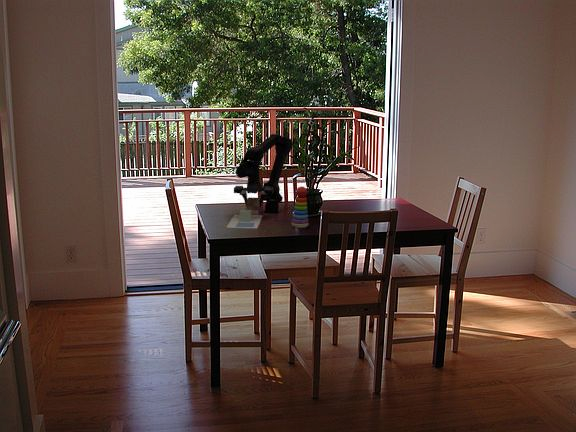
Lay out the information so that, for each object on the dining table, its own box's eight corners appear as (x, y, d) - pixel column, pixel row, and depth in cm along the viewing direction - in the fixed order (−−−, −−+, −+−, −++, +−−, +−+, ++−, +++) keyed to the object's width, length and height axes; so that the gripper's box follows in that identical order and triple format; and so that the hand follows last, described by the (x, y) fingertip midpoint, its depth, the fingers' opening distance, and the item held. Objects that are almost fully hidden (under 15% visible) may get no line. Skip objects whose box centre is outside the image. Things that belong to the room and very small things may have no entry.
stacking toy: (296, 228, 314) (297, 188, 310) (288, 225, 321) (288, 185, 317) (311, 227, 318) (312, 187, 314) (303, 223, 325) (303, 184, 321)
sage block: (251, 219, 328) (251, 209, 327) (250, 221, 323) (250, 211, 322) (241, 219, 328) (241, 209, 327) (239, 221, 324) (239, 211, 323)
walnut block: (260, 207, 335) (260, 197, 334) (259, 210, 329) (259, 200, 328) (248, 207, 336) (248, 197, 335) (246, 210, 330) (246, 199, 329)
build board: (262, 217, 337) (262, 215, 337) (256, 230, 311) (257, 228, 311) (234, 216, 338) (234, 214, 338) (226, 229, 312) (226, 227, 312)
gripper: (232, 177, 322) (232, 210, 325) (271, 178, 321) (271, 211, 324) (235, 174, 333) (235, 205, 336) (273, 174, 331) (273, 206, 335)
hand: (253, 207), depth 332 cm, fingers closed on walnut block, 6 cm apart
